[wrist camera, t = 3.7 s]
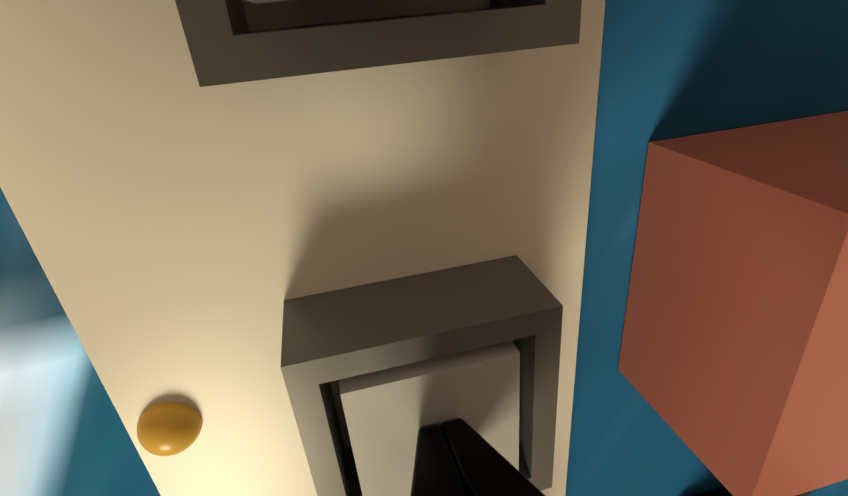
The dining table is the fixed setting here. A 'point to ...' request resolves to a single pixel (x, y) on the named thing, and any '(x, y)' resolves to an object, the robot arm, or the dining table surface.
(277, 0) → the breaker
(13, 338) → the dining table surface
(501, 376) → the breaker middle
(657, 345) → the terracotta orange block
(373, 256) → the breaker panel
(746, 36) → the dining table surface
